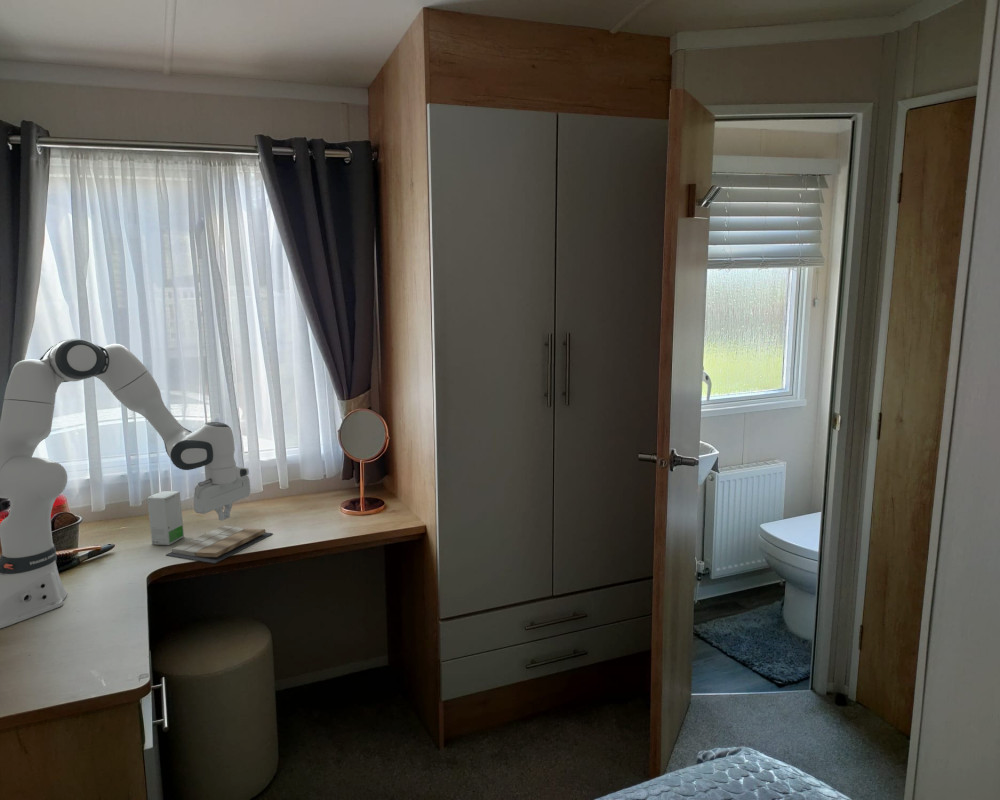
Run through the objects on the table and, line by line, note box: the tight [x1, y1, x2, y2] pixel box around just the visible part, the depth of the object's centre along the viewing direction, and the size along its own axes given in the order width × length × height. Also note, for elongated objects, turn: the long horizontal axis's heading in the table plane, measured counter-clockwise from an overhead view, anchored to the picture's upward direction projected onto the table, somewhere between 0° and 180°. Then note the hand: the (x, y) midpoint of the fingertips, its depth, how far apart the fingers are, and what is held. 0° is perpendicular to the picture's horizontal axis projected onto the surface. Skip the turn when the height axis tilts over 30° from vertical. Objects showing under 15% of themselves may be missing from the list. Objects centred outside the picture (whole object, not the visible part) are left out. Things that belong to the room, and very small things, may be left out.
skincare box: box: [146, 490, 185, 546], centre depth 230 cm, size 8×7×16 cm
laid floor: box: [171, 525, 245, 556], centre depth 229 cm, size 22×9×1 cm, turn 158°
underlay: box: [165, 532, 274, 565], centre depth 227 cm, size 26×19×1 cm
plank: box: [195, 528, 267, 557], centre depth 225 cm, size 22×8×1 cm, turn 158°
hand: (224, 519), depth 219 cm, fingers closed
